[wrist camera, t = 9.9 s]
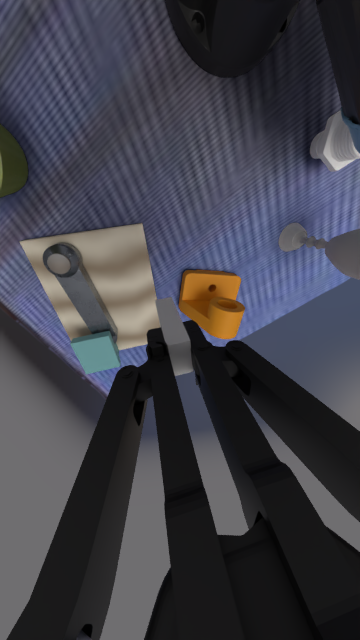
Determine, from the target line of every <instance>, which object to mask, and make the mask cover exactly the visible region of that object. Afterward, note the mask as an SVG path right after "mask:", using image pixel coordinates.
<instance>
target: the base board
mask: <svg viewBox="0 0 360 640" xmlns="http://www.w3.org/2000/svg"><path fill="white" fill-rule="evenodd" d="M59 242H65V243H69V244H71V245H73V246H75V247H76V248H77V249H78V250H79V252H80V253H81V255H82V260H83V261H82V263H83V265H84V267H85V269H86V271H87V273H88V275H89V276H90V278H91V280H92V282H93V284H94V286H95V288H96V289H97V291H98V293H99V295H100V297H101V299H102V301H103V303H104V304H105V306H106V308H107V310H108V312H109V314H110V316H111V317H112V319H113V321H114V323H115V325H116V327H117V329H118V336H117V342H116V344H117V346H118V349H119V350H122V349H127V348H131V347H136V346H140V345H145V344H148V342H147V335H146V334H147V332H148V330H150V329H155V328H159V327H160V323H159V318H158V313H157V308H156V303H155V300H157V297H156V292H155V287H154V282H153V276H152V271H151V266H150V261H149V256H148V250H147V245H146V240H145V235H144V230H143V225H142V223H139V224H132V225H125V226H118V227H111V228H104V229H97V230H90V231H83V232H76V233H69V234H62V235H55V236H48V237H41V238H34V239H28V240H23V241H20V244H21V245H22V247H23V249H24V251H25V253H26V255H27V257H28V259H29V261H30V263H31V265H32V267H33V268H34V270H35V272H36V274H37V276H38V278H39V280H40V282H41V284H42V286H43V288H44V290H45V291H46V293H47V295H48V297H49V299H50V301H51V303H52V305H53V307H54V309H55V311H56V312H57V314H58V316H59V318H60V320H61V322H62V324H63V326H64V328H65V330H66V332H67V334H68V335H69V337H70V339H71V341H72V339H73V338H77V337H82V336H87V335H91V334H92V333H91V331H90V330H89V328H88V327H87V325H86V324H85V322H84V321H83V319H82V317H81V316H80V314H79V313H78V311H77V310H76V308H75V306H74V305H73V303H72V302H71V300H70V299H69V297H68V296H67V294H66V292H65V291H64V289H63V288H62V286H61V285H60V283H59V281H58V280H57V278H56V277H55V275H53V274H52V273H50V272H49V271H48V270H47V269H46V267H45V265H44V263H43V253H44V251H45V250H46V249H47V248H48V247H50V246H52V245H54V244H56V243H59ZM47 264H48V266H49V268H50V269H51V270H52V271H53V272H55V273H58V274H64V273H66V272H68V270H69V269H70V268H71V261H70V259H69V258H68V257H67V256H66V255H64V254H62V253H54V254H52V255H51V256H50V257H49V258H48V260H47Z"/></svg>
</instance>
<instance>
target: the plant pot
mask: <svg viewBox="0 0 360 640" xmlns="http://www.w3.org/2000/svg"><path fill="white" fill-rule="evenodd" d="M27 177H28V165H27V161H26V157H25V154H24V152H23V150H22V148H21V147H20V145H19V144H18V142H17V141H16V139H15V138H14V137H13V136H12V134H11V133H10V132H9V131H8V130H7V129H6V128H4V127H3V126H2V125H1V124H0V198H1V197H3V196H6V195H9V194H12V193H15V192H17V191H18V190H20V189H21V188H22V187H23V186H24V185H25V183H26V181H27Z"/></svg>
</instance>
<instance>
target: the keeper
mask: <svg viewBox="0 0 360 640" xmlns="http://www.w3.org/2000/svg"><path fill="white" fill-rule="evenodd" d="M70 344H71V346H72V348H73V350H74V352H75V354H76V356H77V357H78V359H79V361H80V363H81V365H82V367H83V369H84V371H85V372H86V374H89V373H94V372H98V371H102V370H107V369H111V368H115V367H120V363H121V360H120V358H119V349H118V346H117V344H116V343H115V344H114V342H113V339H112V336H111V334H110V331H106V332H101V333H96V334H91V335H87V336H82V337H77V338H73V339H72V341H71V343H70Z"/></svg>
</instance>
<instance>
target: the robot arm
mask: <svg viewBox="0 0 360 640" xmlns="http://www.w3.org/2000/svg"><path fill="white" fill-rule="evenodd" d="M165 1H166V5H167V9H168V12H169V15H170V18H171V21H172V24H173V26H174V29H175V31H176V33H177V35H178V37H179V39H180V41H181V43H182V45H183V46H184V48H185V49H186V51H187V52H188V54H189V55H190V56H191V57H192V59H193V60H194V61H195V62H196V63H197V64H198V65H199V66H200V67H202V68H203V69H204V70H206V71H207V72H209V73H211V74H213V75H216V76H220V77H236V76H240V75H242V74H245V73H247V72H248V71H250V70H251V69H253V68H254V67H255V66H257V65H258V64H259V63H260V62H261V61H262V60H263V59H264V58H265V56H266V55H267V54H268V53H269V52H270V51H271V50H272V49H273V47H274V46H275V45H276V44H277V42H278V41H279V40H280V38H281V37H282V35H283V34H284V32H285V30H286V29H287V27H288V25H289V23H290V21H291V19H292V17H293V15H294V13H295V11H296V9H297V7H298V4H299V2H300V0H165ZM316 4H317V9H318V13H319V17H320V21H321V25H322V29H323V33H324V37H325V41H326V45H327V49H328V53H329V57H330V60H331V64H332V68H333V72H334V76H335V80H336V84H337V88H338V92H339V96H340V101H341V105H342V107H341V116H342V120H343V121H344V123H345V124H346V125H347V126H348V129H349V132H350V135H351V138H352V141H353V144H354V147H355V149H356V150H357V151H358V153H360V0H316ZM155 303H156V308H157V313H158V318H159V323H160V327H159V328H155V329H150V330H148V332H147V334H146V335H147V342H148V346H147V347H146V352H147V356H148V360H147V362H146V363H144V364H143V365H141V366H139V367H136V366H134V365H128V366H125V367H123V368H121V369H120V370H119V371H118V372H117V374H116V376H115V379H114V382H113V384H112V387H111V389H110V392H109V395H108V397H107V400H106V403H105V405H104V408H103V410H102V413H101V415H100V418H99V421H98V424H97V426H96V429H95V431H94V434H93V436H92V439H91V441H90V444H89V447H88V450H87V452H86V455H85V457H84V460H83V462H82V465H81V467H80V470H79V473H78V476H77V478H76V480H75V483H74V486H73V488H72V491H71V493H70V496H69V499H68V501H67V504H66V506H65V509H64V512H63V514H62V517H61V519H60V522H59V525H58V527H57V530H56V532H55V535H54V538H53V540H52V543H51V545H50V548H49V551H48V553H47V556H46V559H45V561H44V564H43V566H42V569H41V571H40V574H39V577H38V579H37V582H36V585H35V587H34V590H33V592H32V595H31V598H30V600H29V602H28V604H27V605H26V607H25V609H24V611H23V612H22V614H21V616H20V617H19V619H18V621H17V623H16V624H15V626H14V628H13V629H12V631H11V633H10V634H9V636H8V638H7V640H99V639H100V636H101V633H102V629H103V626H104V622H105V619H106V615H107V611H108V608H109V604H110V599H111V595H112V590H113V586H114V581H115V576H116V571H117V565H118V560H119V554H120V549H121V543H122V537H123V532H124V527H125V521H126V516H127V510H128V505H129V499H130V494H131V488H132V483H133V477H134V472H135V466H136V461H137V455H138V450H139V445H140V439H141V434H142V428H143V422H144V417H145V411H146V406H147V399H148V398H150V397H152V396H153V401H154V409H155V418H156V426H157V434H158V442H159V451H160V460H161V468H162V476H163V485H164V493H165V504H164V505H165V519H166V528H167V537H168V546H169V555H170V563H171V568H170V569H169V571H168V573H167V575H166V576H165V578H164V580H163V583H162V585H161V588H160V590H159V593H158V596H157V599H156V602H155V605H154V608H153V612H152V615H151V618H150V622H149V625H148V628H147V632H146V635H145V638H144V640H360V552H359V551H358V550H356V549H355V548H354V547H353V546H351V545H350V544H349V543H347V542H346V541H345V540H343V539H342V538H341V537H340V536H338V535H337V534H336V533H335V532H333V531H332V530H330V529H329V528H328V527H326V526H325V525H324V523H323V522H322V520H321V518H320V517H319V515H318V513H317V512H316V510H315V508H314V507H313V505H312V503H311V502H310V500H309V498H308V497H307V495H306V493H305V492H304V490H303V488H302V487H301V485H300V483H299V482H298V480H297V478H296V477H295V475H294V474H293V472H292V471H291V469H290V468H289V467H288V466H287V465H286V464H284V463H282V462H281V461H280V460H279V459H278V458H277V456H276V455H275V453H274V451H273V450H272V448H271V446H270V444H269V443H268V441H267V439H266V438H265V436H264V434H263V432H262V430H261V429H260V427H259V425H258V423H257V422H256V420H255V418H254V417H253V415H252V413H251V411H250V409H249V408H248V406H247V404H246V403H245V401H244V399H245V400H246V401H247V402H248V403H249V405H251V407H252V408H253V409H254V410H255V411H256V412H257V413H258V414H259V415H260V416H261V418H262V419H263V420H264V421H265V422H266V423H267V424H268V425H269V426H270V427H271V428H272V430H273V431H274V432H275V433H276V434H277V435H278V436H279V437H280V438H281V439H282V441H283V442H284V443H285V444H286V445H287V446H288V447H289V448H290V449H291V450H292V452H293V453H294V454H295V455H296V456H297V457H298V458H299V459H300V460H301V461H302V462H303V463H304V465H305V466H306V467H307V468H308V469H309V470H310V471H311V472H312V473H313V474H314V476H315V477H316V478H317V479H318V480H319V481H320V482H321V483H322V484H323V485H324V486H325V488H326V489H327V490H328V491H329V492H330V493H331V494H332V495H333V496H334V497H335V498H336V499H337V500H338V501H339V503H340V504H341V505H342V506H343V507H344V508H345V509H346V510H347V511H348V512H349V513H350V514H351V515H353V516H354V517H355V518H356V519H357V520H358V521H359V522H360V431H358V430H357V429H356V428H355V427H353V426H352V425H351V424H349V423H348V422H347V421H345V420H344V419H343V418H341V417H340V416H339V415H337V414H336V413H335V412H334V411H332V410H331V409H329V408H328V407H327V406H326V405H325V404H323V403H322V402H321V401H319V400H318V399H317V398H315V397H314V396H313V395H312V394H310V393H309V392H308V391H306V390H305V389H304V388H302V387H301V386H300V385H298V384H297V383H296V382H295V381H293V380H292V379H290V378H289V377H288V376H287V375H285V374H284V373H283V372H281V371H280V370H279V369H278V368H276V367H275V366H274V365H272V364H271V363H270V362H268V361H267V360H266V359H264V358H263V357H262V356H261V355H259V354H258V353H257V352H255V351H254V350H253V349H252V348H250V347H249V346H248V345H246V344H244V343H243V342H241V341H238V340H233V341H229V342H228V343H227V344H226V347H217V346H213V345H212V344H211V343H210V342H208V341H207V340H206V338H205V337H204V335H203V333H202V331H201V329H200V328H199V326H198V324H197V323H196V322H195V321H193V320H190V321H185V322H182V320H181V318H180V316H179V313H178V311H177V309H176V306H175V304H174V302H173V300H172V297H169V298H164V299H159V300H155ZM193 368H194V370H195V377H196V385H199V388H200V391H201V394H202V396H203V399H204V401H205V404H206V407H207V410H208V413H209V415H210V418H211V421H212V423H213V426H214V429H215V432H216V434H217V437H218V440H219V442H220V445H221V448H222V450H223V453H224V456H225V458H226V461H227V464H228V467H229V469H230V472H231V475H232V477H233V480H234V483H235V485H236V488H237V491H238V494H239V496H240V500H241V504H242V509H243V513H244V516H245V519H246V522H247V525H248V528H249V530H248V531H247V532H246V533H245V534H244V535H241V536H233V535H217V532H216V528H215V524H214V521H213V517H212V513H211V509H210V506H209V502H208V499H207V495H206V492H205V489H204V486H203V482H202V479H201V475H200V471H199V467H198V463H197V459H196V456H195V452H194V448H193V444H192V440H191V436H190V432H189V429H188V425H187V421H186V417H185V413H184V410H183V406H182V402H181V398H180V394H179V390H178V386H177V382H176V379H175V376H177V375H181V374H185V373H189V372H193ZM243 398H244V399H243Z"/></svg>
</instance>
